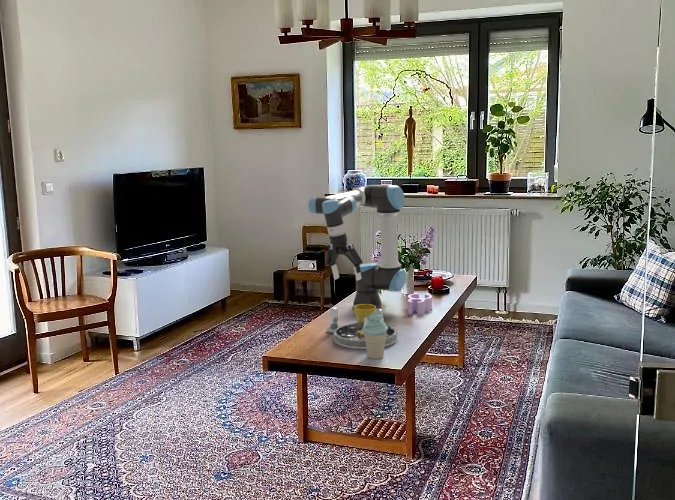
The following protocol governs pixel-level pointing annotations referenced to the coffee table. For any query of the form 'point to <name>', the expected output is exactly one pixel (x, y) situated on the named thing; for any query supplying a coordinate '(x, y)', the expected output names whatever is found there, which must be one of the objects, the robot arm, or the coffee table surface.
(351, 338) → the grey round tray
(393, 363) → the coffee table surface
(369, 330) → the ice cream cone
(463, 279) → the coffee table surface
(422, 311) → the clip
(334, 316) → the grey round-based stand
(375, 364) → the coffee table surface
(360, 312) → the plant pot
